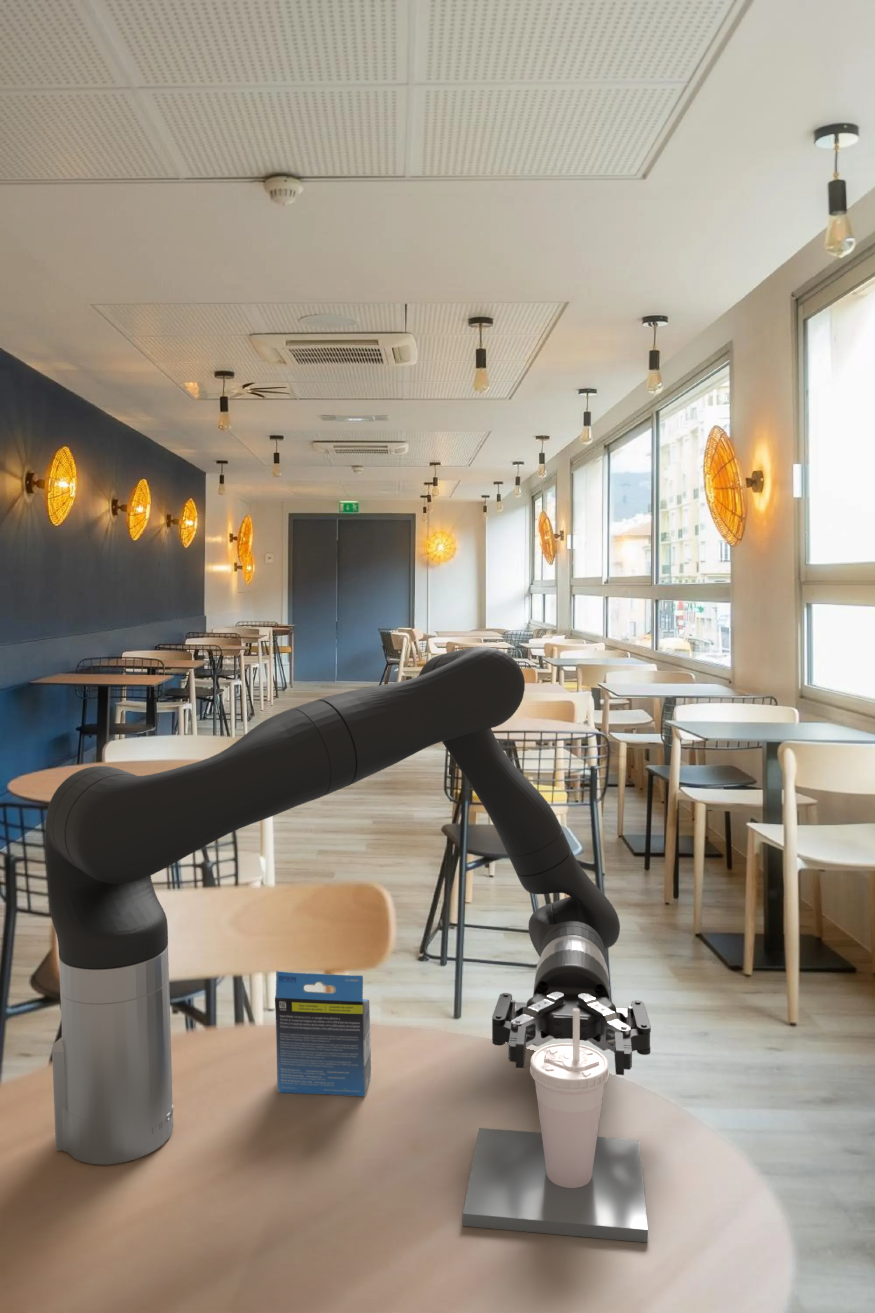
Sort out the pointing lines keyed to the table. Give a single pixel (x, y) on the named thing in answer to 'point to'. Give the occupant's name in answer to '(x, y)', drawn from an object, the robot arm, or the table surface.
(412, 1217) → the table surface
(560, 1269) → the table surface
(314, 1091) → the label tape box
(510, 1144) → the metal board
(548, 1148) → the smoothie
